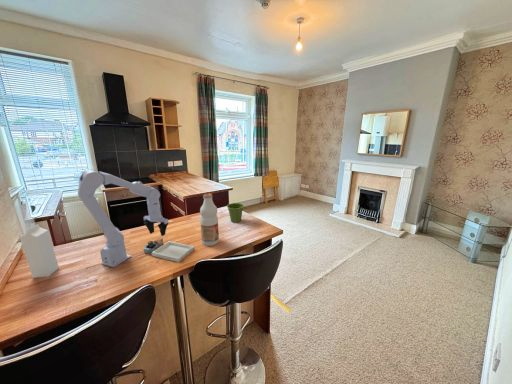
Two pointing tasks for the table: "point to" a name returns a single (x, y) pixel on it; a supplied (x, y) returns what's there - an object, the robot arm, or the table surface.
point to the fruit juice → (209, 221)
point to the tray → (173, 251)
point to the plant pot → (235, 211)
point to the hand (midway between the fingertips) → (157, 233)
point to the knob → (150, 244)
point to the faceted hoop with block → (156, 245)
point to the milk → (39, 252)
